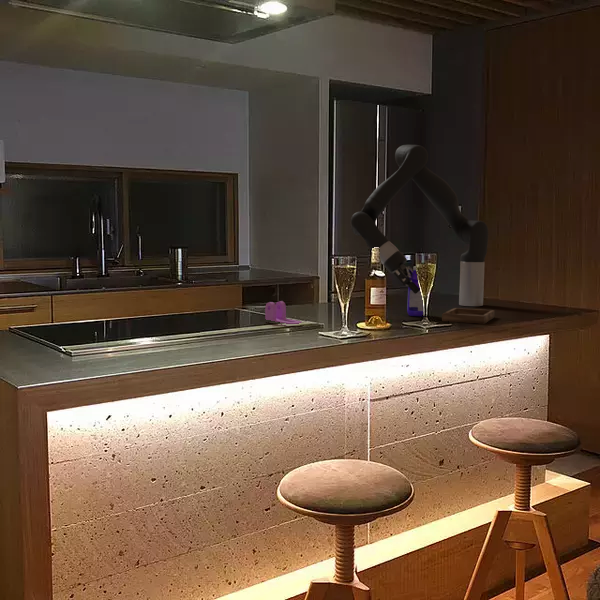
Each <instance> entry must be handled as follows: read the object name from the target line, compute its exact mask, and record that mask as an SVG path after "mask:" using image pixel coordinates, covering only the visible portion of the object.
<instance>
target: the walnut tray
mask: <svg viewBox="0 0 600 600" xmlns="http://www.w3.org/2000/svg"><path fill="white" fill-rule="evenodd" d="M492 319H495V310H493V309H479V308H478V309H475V308H464V307H463V308H462V307H453V308H451V309H449V310H447V311H445V312H443V313H441V321H442V322H448V321H449V322H450V323H451V322H453V323H466V324H479V325H484V324H486V323H487V322H489V321H491V320H492Z"/></svg>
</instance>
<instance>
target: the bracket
mask: <svg viewBox="0 0 600 600" xmlns="http://www.w3.org/2000/svg"><path fill="white" fill-rule="evenodd" d="M264 310H265V311H264V313H265V314H264V315H265V317H264V319H266V320H271V321H275V322H280V323H286V324H299V323H303V322H302V321H300V320H295V319H289V318H287V313H286V312H287V306H286V303H285V302H284V301H283V300H280V301H276V302H273V301H269V302H267V303H265V309H264Z"/></svg>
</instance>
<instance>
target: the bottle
mask: <svg viewBox="0 0 600 600" xmlns="http://www.w3.org/2000/svg"><path fill="white" fill-rule="evenodd" d="M416 266H417V265H415V266H413V267H412V269H413V274H412V277H411V279H412V281H413V282H414V283H415V284H416V286H417V287H418V288H419V285H418V280H417V274H416ZM407 288H408V289H407V306H406V307H407V308H406V309H407V310H406V311H407V314H408V316H410V317H423V316H422V315H423V300H422V296H421V292H420V291H419V292H418V293H416V294H415V293H414V292H413V291H412V290H411V289H410V288H409V287H408V286H407ZM419 289H420V288H419Z"/></svg>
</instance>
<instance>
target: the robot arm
mask: <svg viewBox="0 0 600 600" xmlns="http://www.w3.org/2000/svg"><path fill="white" fill-rule="evenodd" d="M394 159H395V163H396V165H397V166H398V167H399V168H398V169H397V170H396V171H395V172H394V173H393V174H391V176H389V177H388V178H387V179H385V180H384V181H383V182H381V183H380V184H379V185H378V186H377V187H376V188H375V189H374V190H373V191H372V193H371V194H370V195H369V196H368V198H367V199H366V201H365V202H364V205H363V207H362V209H361V210H360V211H357V212H355V213H353V214H352V215H351V217H350V231H351V232H352V233H353V234H354V235H356V236H361V237H362V239H363V240H364V242H365V244H366V246H367V247H368V248H369V250H370V251H371V252H372V248H374V247H379V248H380V258H381V262H380V263H381V264H382V265H383V266H384V268H386V270H387V271H388V272H389V273H390V274H394V276H395V277H396V278H397V279H398V280H399V281H400V282H401V284H402V285H403V286H406V287H407V288H408V287H409V288H410V289H411V290H412V291H413V292H414V293H415V294H416V293H418V292H419V291H420V289H419V288H418V287H417V286H416V284H415V283H414V282H413V281H412V279H411V277H412V274H413V267H411V266H410V265H408V266H407V265H405V264H406V262H407V261H408V258H407V257H406V256H405V255H404V254H403V253H402V252H401V251H400V250H399V249H398V247H396V245H395V244H393V243H392V242H391V241H390V239H388V238H387V236H386V235H385V234H384V233H382V232H381V230H380V228H379V227H378V226H377V225H376V221H377V219H378V218H379V216H380V214H382V212H383V211H384V210H385V209H386V207H387V206H388V205H389V204H390V202H391V201H392V199H393V200H394V198H395V196H396V195H397V194H398V193H399V192H400V191H401V190H402V189H403V188H404V187H405V186H406V185H407V183H409V182H410V181H411V180H412V181H413V182H414V183H415V184H416V186H417V187H418V188H419V190H420V191H421V192H422V193H423V194H424V195H425V197H426V198H427V199H428V200H429V202H430V203H431V205H432V206H433V207H434V208H435V209H436V210H437V211H438V212H439V214H440V215H441V216H442V217H443V218H444V220H446V223H448V225H449V226H450V228H451V229H452V231H453V232H454V234H455V236H456V237H457V239H458V240H459V241H460V242H461V243H463V244H467V245H469V246H468V249H467V250H466V251H465V252H463V253H461V255H460V264H459V265H460V267H459V268H460V269H459V271H460V273H459V295H458V296H459V297H458V305H459V306H465V307H482V306H484V288H485V287H484V286H485V260H486V259H485V258H486V256H487V254H488V244H489V227H488V225H487V223H486V222H485V221H482V220H471V219H470V220H469V219H468V218H467V217H466V216H465V215H464V214H463V213H462V212H461V210H460V208H459V207H460V206H459V199H458V196H457V193H456V192H455V191H454V189H453V188H452V186H450V185H449V183H448V182H447V181H446V180H445V179H443V178H442V177H440V176H439V175H438V174H436V173H434V171H432V170H431V169H429V168H428V167H427V166H426V165H427V163H428V161H429V153H428V151H427V149H426V148H425V147H424V146H422V145H418V144H403V145H400V146H399V147H398V148H396V150H395V153H394Z"/></svg>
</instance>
